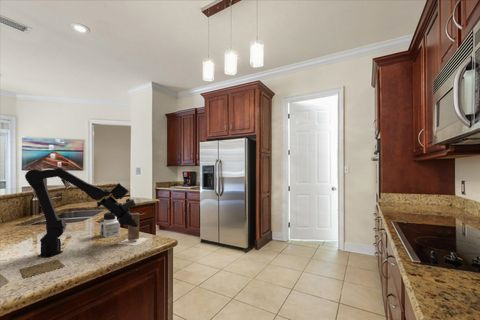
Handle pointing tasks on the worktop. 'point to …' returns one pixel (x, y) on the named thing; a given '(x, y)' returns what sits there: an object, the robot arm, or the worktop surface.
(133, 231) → the walnut block
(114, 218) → the container
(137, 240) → the tile
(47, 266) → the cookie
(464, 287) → the worktop surface
